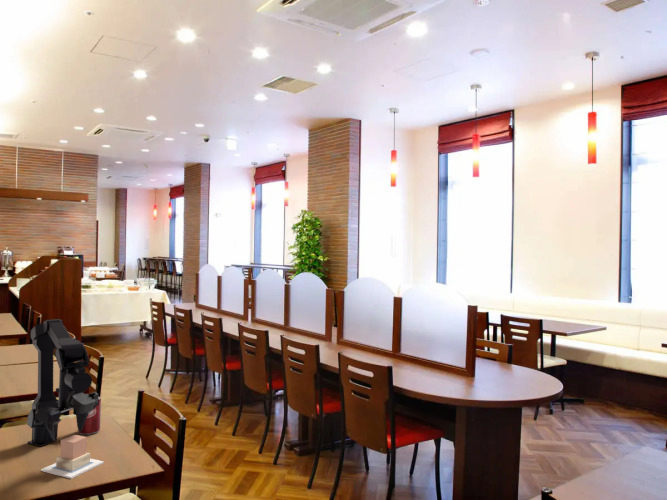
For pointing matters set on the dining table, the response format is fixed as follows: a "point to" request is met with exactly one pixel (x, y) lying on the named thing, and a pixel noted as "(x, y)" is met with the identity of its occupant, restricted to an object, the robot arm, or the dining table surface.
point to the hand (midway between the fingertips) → (67, 435)
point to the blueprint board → (72, 474)
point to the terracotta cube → (73, 447)
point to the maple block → (72, 462)
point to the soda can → (92, 421)
